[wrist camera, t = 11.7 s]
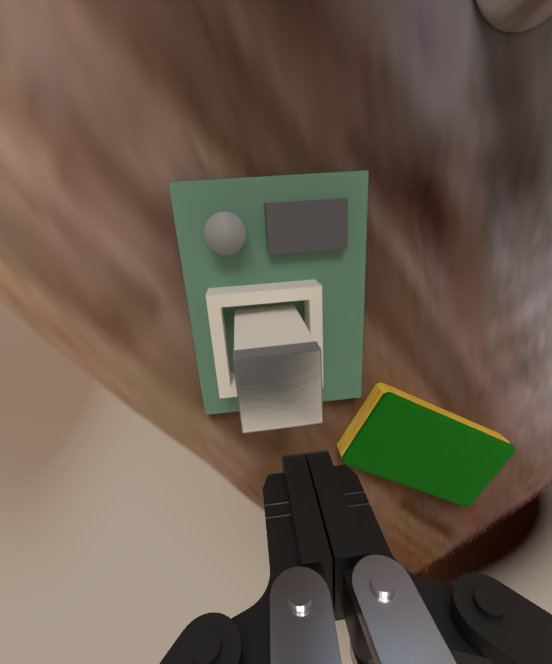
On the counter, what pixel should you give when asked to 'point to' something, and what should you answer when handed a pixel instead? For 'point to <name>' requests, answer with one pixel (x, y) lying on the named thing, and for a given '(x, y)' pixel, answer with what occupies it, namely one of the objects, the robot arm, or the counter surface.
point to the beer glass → (515, 13)
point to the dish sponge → (423, 446)
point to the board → (274, 268)
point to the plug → (276, 369)
